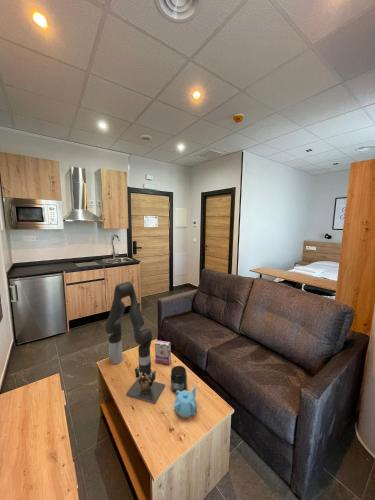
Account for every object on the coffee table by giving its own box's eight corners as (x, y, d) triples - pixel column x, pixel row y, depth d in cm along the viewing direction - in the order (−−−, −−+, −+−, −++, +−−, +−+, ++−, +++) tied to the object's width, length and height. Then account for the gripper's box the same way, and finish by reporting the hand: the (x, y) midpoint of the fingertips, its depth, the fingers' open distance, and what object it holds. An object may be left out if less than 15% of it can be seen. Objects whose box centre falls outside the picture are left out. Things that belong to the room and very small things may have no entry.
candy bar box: (171, 361, 161) (170, 341, 159) (168, 365, 156) (168, 345, 154) (158, 359, 165) (157, 339, 162) (155, 363, 160) (154, 343, 157)
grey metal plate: (126, 395, 131) (125, 386, 130) (138, 379, 144) (137, 370, 143) (155, 404, 124) (154, 394, 123) (165, 386, 137) (164, 377, 136)
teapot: (172, 420, 114) (172, 403, 112) (176, 397, 128) (176, 382, 126) (195, 422, 113) (195, 405, 111) (197, 399, 127) (197, 383, 125)
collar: (138, 388, 132) (138, 382, 131) (144, 381, 138) (143, 375, 137) (147, 391, 129) (147, 384, 129) (152, 383, 136) (152, 377, 135)
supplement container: (183, 379, 143) (183, 363, 141) (189, 390, 133) (189, 373, 132) (168, 383, 139) (168, 367, 138) (173, 396, 130) (173, 378, 128)
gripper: (131, 362, 130) (132, 386, 132) (152, 367, 125) (153, 392, 128) (137, 354, 137) (139, 378, 139) (157, 359, 132) (158, 383, 135)
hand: (145, 384), depth 133 cm, fingers closed on collar, 6 cm apart
